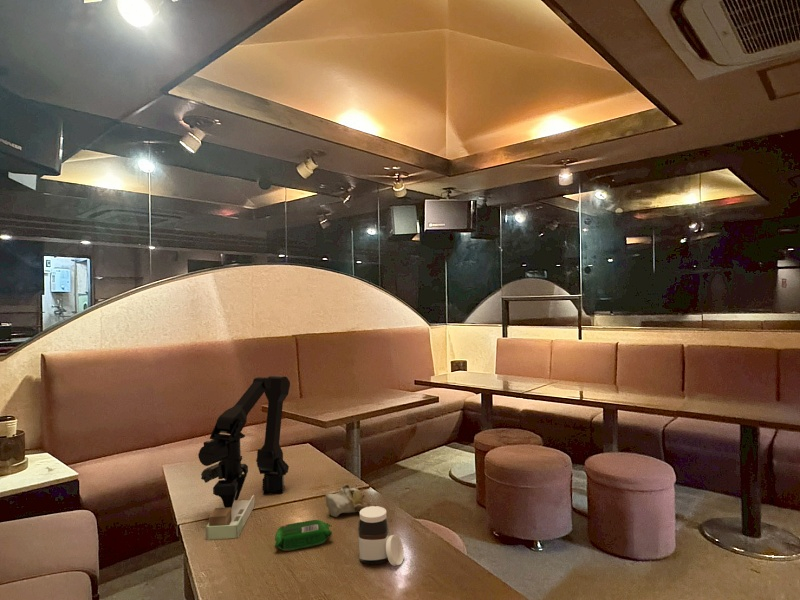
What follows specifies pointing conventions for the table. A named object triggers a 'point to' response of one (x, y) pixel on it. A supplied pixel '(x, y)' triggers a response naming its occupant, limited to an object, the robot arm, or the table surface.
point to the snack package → (302, 535)
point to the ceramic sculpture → (345, 501)
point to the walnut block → (220, 517)
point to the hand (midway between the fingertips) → (232, 506)
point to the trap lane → (239, 518)
